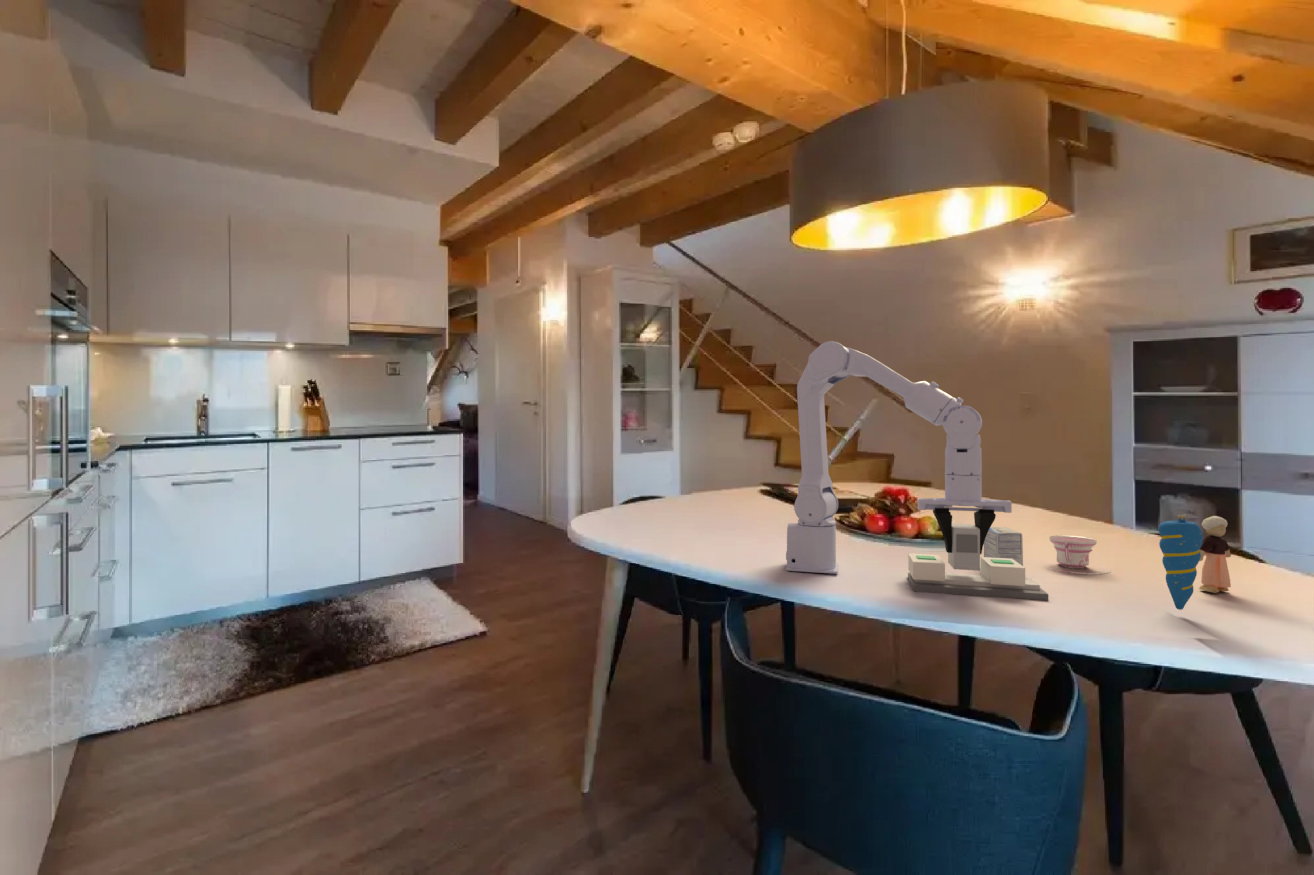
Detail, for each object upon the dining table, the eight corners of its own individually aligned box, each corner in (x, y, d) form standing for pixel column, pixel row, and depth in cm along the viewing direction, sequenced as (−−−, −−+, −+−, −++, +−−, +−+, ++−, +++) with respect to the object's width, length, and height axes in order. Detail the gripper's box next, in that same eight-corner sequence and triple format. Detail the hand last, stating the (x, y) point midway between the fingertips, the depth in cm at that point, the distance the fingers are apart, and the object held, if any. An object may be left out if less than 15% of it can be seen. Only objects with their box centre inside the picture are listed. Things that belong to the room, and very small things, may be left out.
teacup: (1046, 560, 128) (1046, 532, 128) (1117, 569, 119) (1116, 538, 119) (1030, 569, 120) (1030, 538, 120) (1104, 579, 111) (1104, 546, 111)
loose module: (954, 569, 102) (953, 528, 102) (948, 562, 108) (947, 523, 108) (980, 570, 101) (980, 529, 101) (972, 563, 107) (972, 524, 107)
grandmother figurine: (1220, 595, 99) (1219, 518, 99) (1191, 589, 103) (1190, 516, 103) (1240, 589, 103) (1240, 515, 103) (1211, 584, 106) (1211, 513, 106)
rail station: (913, 591, 102) (913, 561, 102) (907, 577, 112) (907, 551, 112) (1048, 600, 96) (1048, 569, 96) (1029, 585, 106) (1029, 557, 106)
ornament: (1149, 605, 93) (1149, 509, 93) (1179, 604, 94) (1179, 508, 94) (1181, 615, 88) (1180, 513, 88) (1213, 614, 89) (1212, 512, 89)
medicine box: (1023, 580, 110) (1023, 533, 110) (997, 579, 111) (997, 532, 111) (1007, 571, 118) (1007, 527, 118) (983, 570, 119) (982, 526, 119)
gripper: (920, 475, 103) (921, 554, 103) (1016, 476, 99) (1016, 559, 99) (916, 472, 110) (916, 547, 110) (1005, 474, 105) (1005, 551, 105)
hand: (963, 552), depth 104 cm, fingers closed on loose module, 4 cm apart
